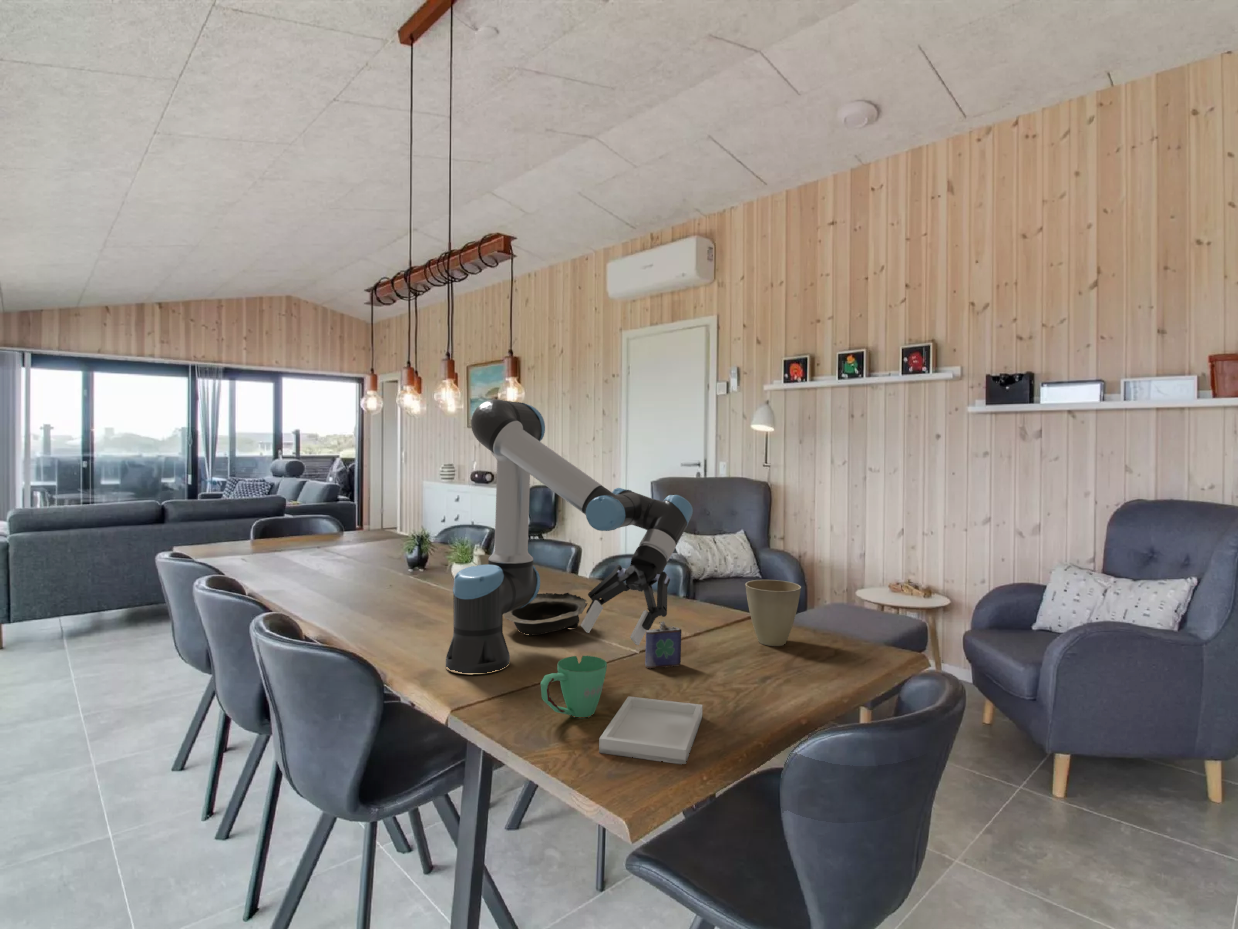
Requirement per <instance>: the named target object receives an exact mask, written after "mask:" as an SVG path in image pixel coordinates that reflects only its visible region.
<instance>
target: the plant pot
mask: <svg viewBox="0 0 1238 929" xmlns="http://www.w3.org/2000/svg"><path fill="white" fill-rule="evenodd" d="M744 586H745V593H746V599H747V600H746V601H747V606H748V611H749V614H750V618H751V623H752V626H753V629H754V633H755V635H756V638H757V640H758V643H759V644H761V645H763V646H771V647H781V646H784V644H785V645H786V643H787V641H788V639H789V636H790V633H791V632H792V628H793V625H794V622H795V619H796V615H797V611H798V607H799V602H800V595H801V589H802V586H801V585H799V583H794V582H791V581H785V580H776V579H755V580H753V579H752V580H749V581H747V582H745V584H744Z"/></svg>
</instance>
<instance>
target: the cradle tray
mask: <svg viewBox="0 0 1238 929" xmlns="http://www.w3.org/2000/svg"><path fill="white" fill-rule="evenodd" d="M702 719H703V704H697V703H689V702H681V701H672V700H663V699H655V698H647V697H639V696H638V697H636V696H629V695H628V696H627V698H626V699H625V701H624V702H623V703H622V705H621V706H620V707H619V709H618V711H617V712H616V714H615V715H614V717H613V718H612V719H611V721H609V724H608V725H607V726H606V727H605V729H604V731H603V733H602V734H601V735H600V737H599V738H598V740H599V741H598V745H599V746H598V753H599V754H604V755H613V756H619V757H624V758H632V757H633V759H640V760H647V761H655V762H661V761H663V763H670V764H675V765H682V764H687V762H688V759H689V755H690V754H689V753H691V750H692V748H693V745H694V743H695V739H696V736H697V734H698V730H699V727H700V725H701V723H702V722H701V721H702ZM691 747H692V748H691ZM686 761H687V762H686Z"/></svg>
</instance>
